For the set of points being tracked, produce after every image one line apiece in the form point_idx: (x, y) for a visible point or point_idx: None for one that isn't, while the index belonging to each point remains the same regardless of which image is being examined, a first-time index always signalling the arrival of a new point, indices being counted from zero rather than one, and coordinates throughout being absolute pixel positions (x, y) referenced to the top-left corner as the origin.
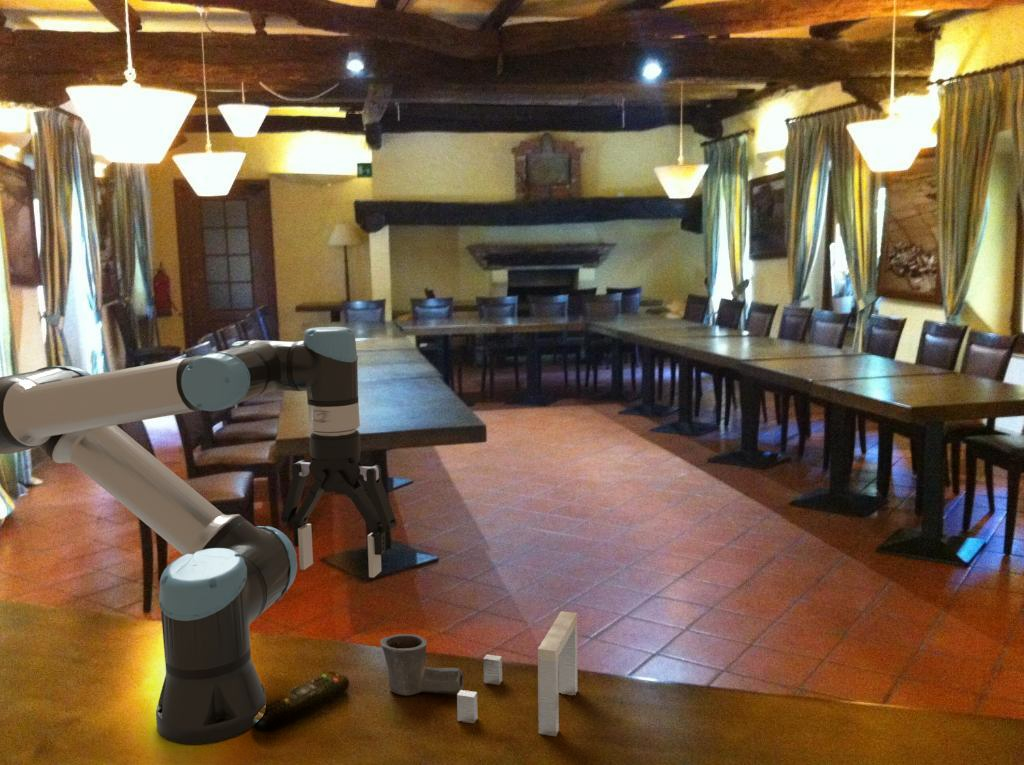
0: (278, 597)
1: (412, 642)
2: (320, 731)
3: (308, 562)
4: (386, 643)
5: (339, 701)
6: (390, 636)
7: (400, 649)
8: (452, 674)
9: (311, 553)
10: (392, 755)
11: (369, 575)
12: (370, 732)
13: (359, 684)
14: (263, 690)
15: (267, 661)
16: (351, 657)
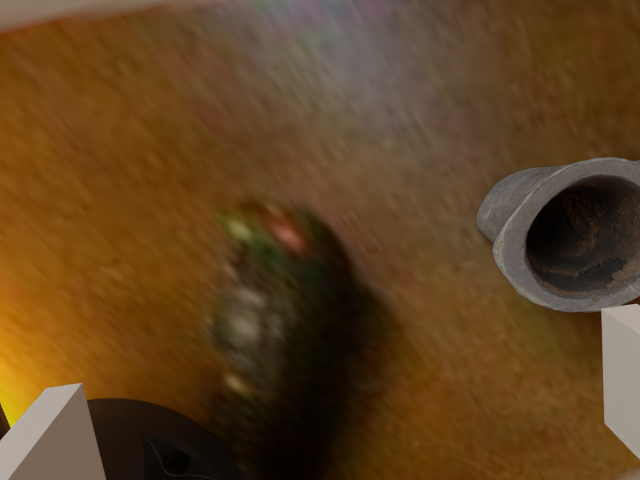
0: (2, 410)
1: (589, 180)
2: (416, 463)
3: (84, 457)
4: (534, 278)
5: (375, 333)
6: (519, 220)
7: (612, 303)
8: None
9: (49, 443)
10: (629, 472)
11: (613, 427)
12: (534, 419)
13: (373, 233)
14: (201, 466)
15: (9, 229)
16: (243, 92)
